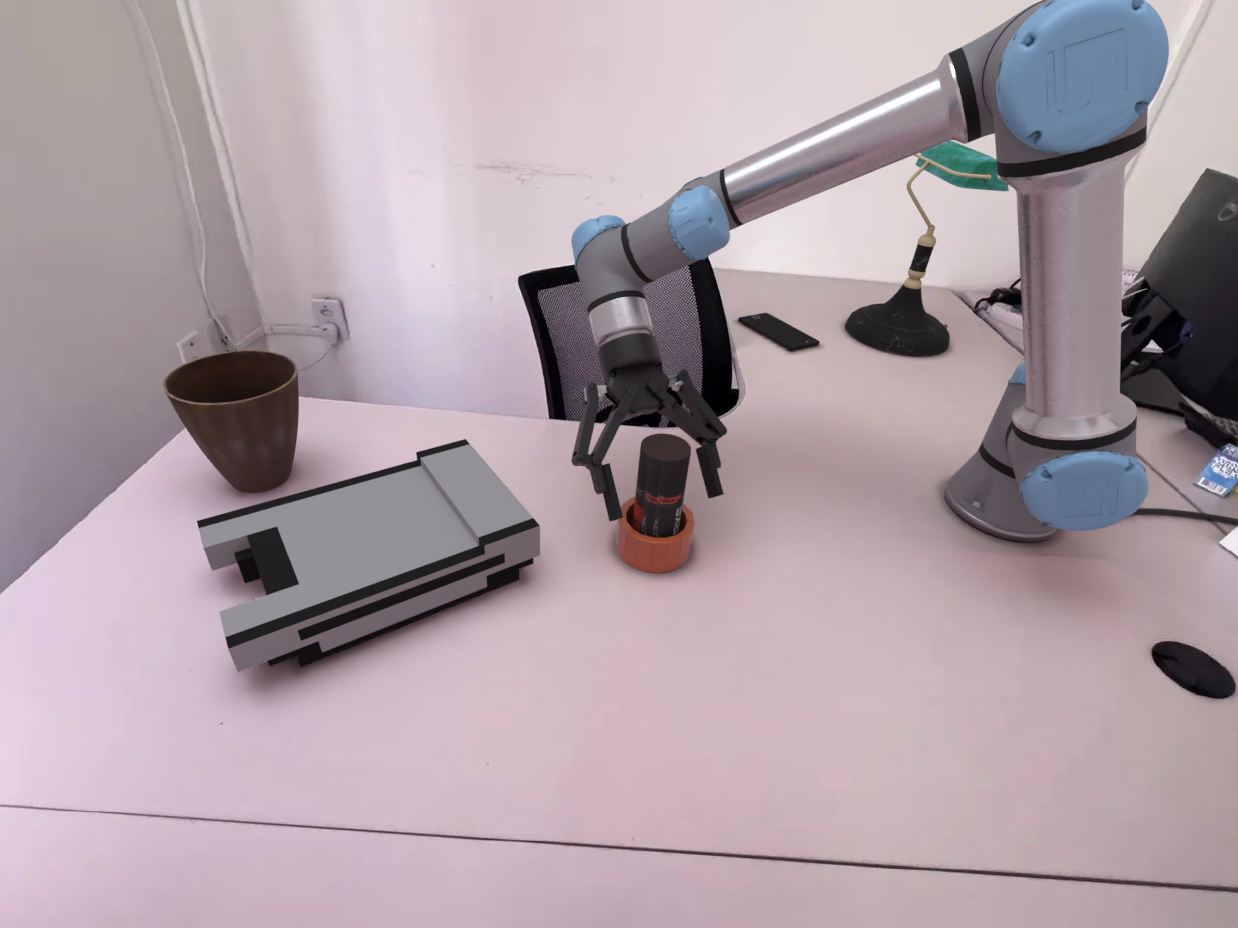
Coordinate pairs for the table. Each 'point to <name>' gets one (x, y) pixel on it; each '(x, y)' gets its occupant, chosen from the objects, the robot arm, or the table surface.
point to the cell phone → (779, 331)
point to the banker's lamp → (922, 263)
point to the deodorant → (661, 485)
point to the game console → (368, 554)
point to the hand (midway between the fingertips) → (667, 508)
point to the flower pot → (240, 414)
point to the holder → (653, 543)
